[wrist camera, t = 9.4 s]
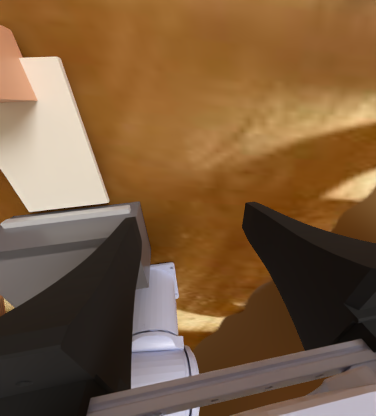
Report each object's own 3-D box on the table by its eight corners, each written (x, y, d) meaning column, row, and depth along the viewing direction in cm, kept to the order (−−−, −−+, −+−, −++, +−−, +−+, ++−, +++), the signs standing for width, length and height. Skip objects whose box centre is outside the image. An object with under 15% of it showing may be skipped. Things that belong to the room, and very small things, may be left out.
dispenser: (150, 249, 24) (148, 287, 19) (48, 264, 23) (16, 309, 18) (138, 197, 20) (131, 228, 15) (9, 211, 18) (-48, 252, 13)
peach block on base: (109, 200, 19) (95, 228, 14) (32, 209, 18) (-8, 241, 14) (50, 29, 12) (-13, -15, 7) (-83, 32, 11) (-238, -15, 7)
